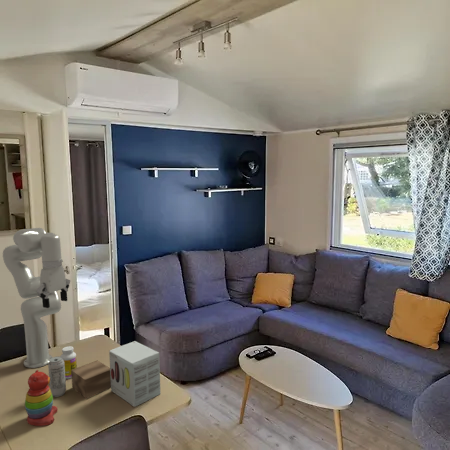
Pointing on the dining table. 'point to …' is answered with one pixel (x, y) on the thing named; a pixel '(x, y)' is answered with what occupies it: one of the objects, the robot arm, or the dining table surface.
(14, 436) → the dining table surface
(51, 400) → the stacking bear
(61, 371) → the energy drink can
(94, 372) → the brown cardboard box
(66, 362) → the supplement bottle
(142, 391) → the supplement box
